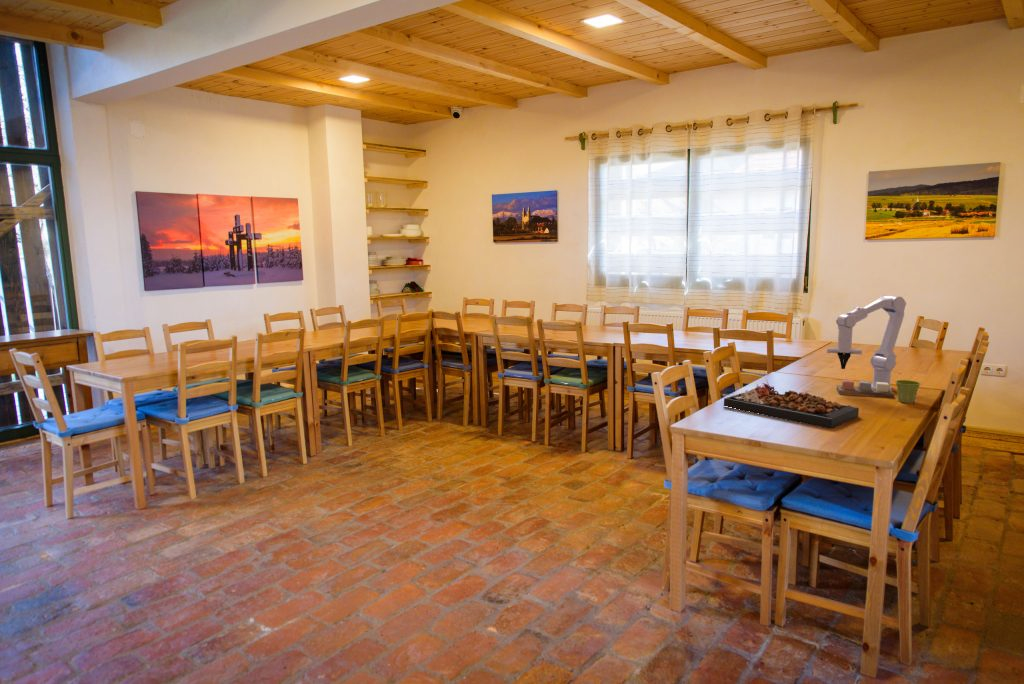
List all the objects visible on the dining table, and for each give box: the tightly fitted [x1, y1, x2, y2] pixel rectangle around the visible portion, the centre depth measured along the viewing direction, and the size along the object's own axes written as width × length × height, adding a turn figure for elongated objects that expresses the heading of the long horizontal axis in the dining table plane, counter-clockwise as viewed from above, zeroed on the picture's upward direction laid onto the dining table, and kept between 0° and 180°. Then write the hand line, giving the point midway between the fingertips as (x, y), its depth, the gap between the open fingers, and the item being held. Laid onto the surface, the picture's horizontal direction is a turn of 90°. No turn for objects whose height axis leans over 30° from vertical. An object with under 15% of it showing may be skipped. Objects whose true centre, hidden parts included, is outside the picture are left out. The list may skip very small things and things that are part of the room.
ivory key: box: [875, 382, 889, 392], centre depth 291 cm, size 5×5×4 cm
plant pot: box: [895, 379, 922, 404], centre depth 277 cm, size 9×9×9 cm
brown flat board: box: [836, 384, 895, 399], centre depth 294 cm, size 11×22×2 cm, turn 68°
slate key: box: [858, 380, 872, 391], centre depth 293 cm, size 5×5×4 cm
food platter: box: [723, 380, 860, 430], centre depth 263 cm, size 45×25×10 cm, turn 40°
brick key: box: [841, 379, 855, 390], centre depth 296 cm, size 5×5×4 cm
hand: (843, 368), depth 299 cm, fingers closed
